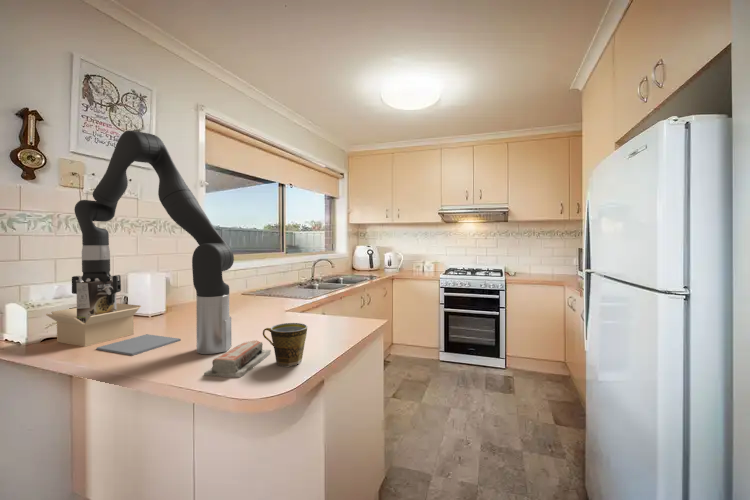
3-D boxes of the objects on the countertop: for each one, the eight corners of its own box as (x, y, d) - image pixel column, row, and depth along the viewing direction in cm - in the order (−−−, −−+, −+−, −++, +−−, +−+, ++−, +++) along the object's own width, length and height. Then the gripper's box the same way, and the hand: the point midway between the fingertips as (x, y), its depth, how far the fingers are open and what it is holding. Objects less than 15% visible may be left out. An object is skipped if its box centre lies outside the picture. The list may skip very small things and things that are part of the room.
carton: (147, 332, 121) (146, 305, 121) (80, 350, 102) (80, 318, 101) (110, 327, 128) (109, 302, 128) (40, 343, 108) (40, 313, 108)
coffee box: (91, 330, 110) (90, 282, 109) (76, 330, 111) (75, 282, 111) (118, 324, 119) (117, 279, 118) (103, 323, 120) (102, 279, 120)
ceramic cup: (312, 357, 96) (312, 323, 96) (298, 370, 87) (298, 332, 86) (271, 354, 99) (271, 321, 99) (253, 366, 89) (253, 330, 89)
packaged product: (241, 360, 82) (203, 358, 83) (241, 379, 82) (203, 377, 83) (271, 339, 100) (239, 338, 101) (271, 354, 100) (240, 353, 101)
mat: (180, 340, 112) (180, 338, 112) (132, 355, 97) (132, 353, 97) (146, 335, 118) (146, 334, 118) (96, 349, 102) (96, 347, 102)
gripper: (125, 257, 119) (126, 302, 119) (80, 258, 117) (81, 304, 117) (112, 258, 112) (113, 306, 112) (64, 259, 109) (65, 308, 110)
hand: (97, 305), depth 115 cm, fingers closed on coffee box, 7 cm apart
